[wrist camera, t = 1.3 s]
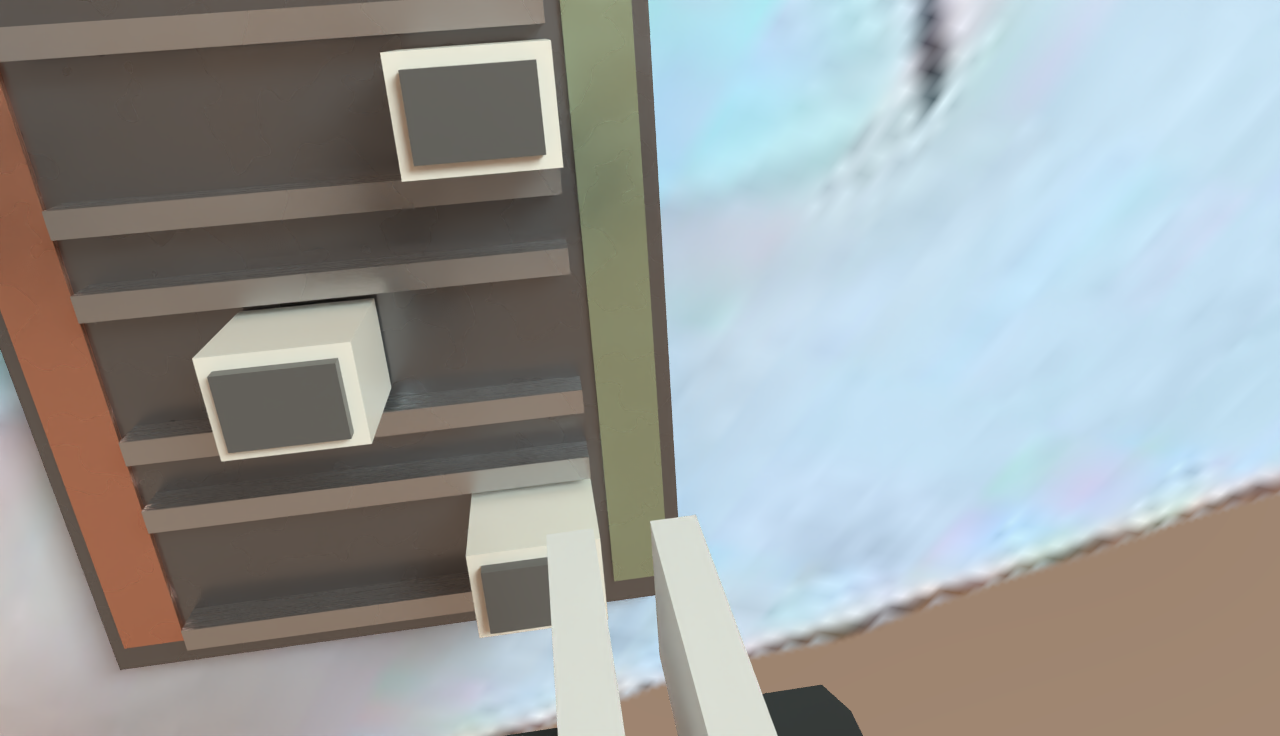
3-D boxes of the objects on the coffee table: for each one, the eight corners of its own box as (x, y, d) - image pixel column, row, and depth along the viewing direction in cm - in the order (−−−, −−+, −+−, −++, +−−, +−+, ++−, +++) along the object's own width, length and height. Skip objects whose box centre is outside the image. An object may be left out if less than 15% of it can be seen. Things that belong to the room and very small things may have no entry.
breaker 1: (262, 402, 27) (216, 468, 23) (238, 311, 26) (186, 364, 22) (391, 387, 27) (369, 450, 23) (374, 298, 26) (347, 347, 22)
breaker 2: (418, 159, 25) (400, 184, 21) (401, 49, 24) (377, 53, 20) (556, 147, 25) (564, 170, 21) (545, 38, 24) (551, 40, 20)
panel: (143, 632, 32) (104, 694, 29) (-86, -14, 23) (-173, -21, 20) (673, 560, 34) (688, 611, 31) (634, -59, 25) (650, -71, 22)
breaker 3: (484, 563, 30) (479, 646, 26) (472, 488, 29) (464, 563, 25) (597, 548, 30) (609, 627, 26) (589, 474, 29) (601, 546, 25)
